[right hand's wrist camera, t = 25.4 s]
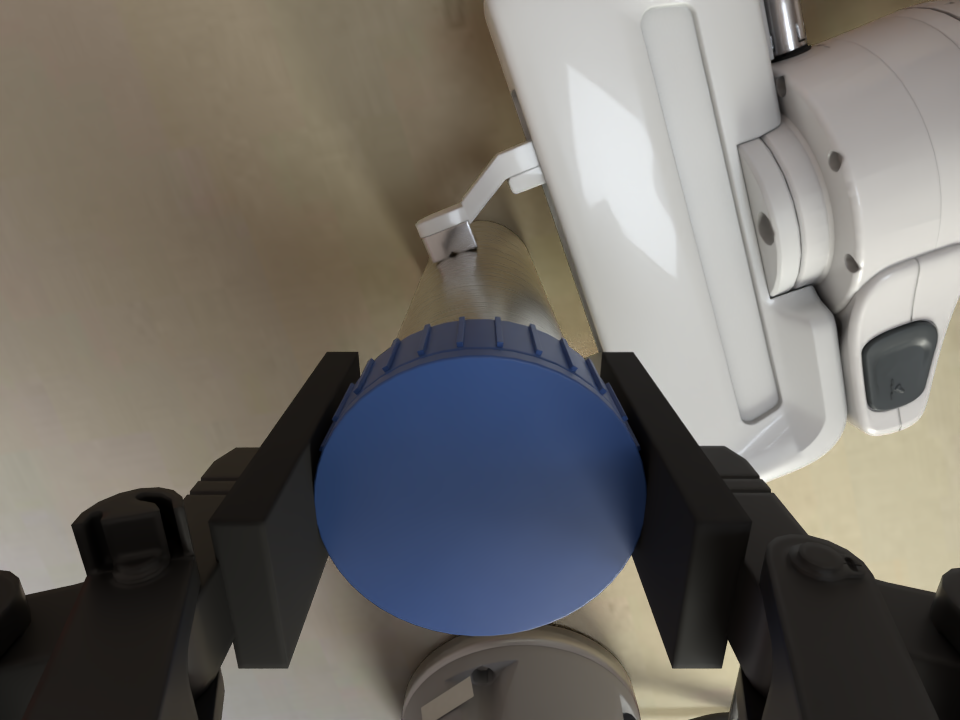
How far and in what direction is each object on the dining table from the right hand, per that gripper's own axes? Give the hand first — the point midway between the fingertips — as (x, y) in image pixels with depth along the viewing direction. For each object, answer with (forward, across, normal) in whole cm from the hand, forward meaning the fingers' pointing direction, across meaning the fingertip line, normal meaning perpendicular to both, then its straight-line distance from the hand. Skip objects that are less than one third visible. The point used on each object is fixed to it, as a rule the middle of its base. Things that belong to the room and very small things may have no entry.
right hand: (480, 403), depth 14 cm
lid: (-4, 0, 0) cm, 4 cm away
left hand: (+8, -1, 0) cm, 8 cm away
